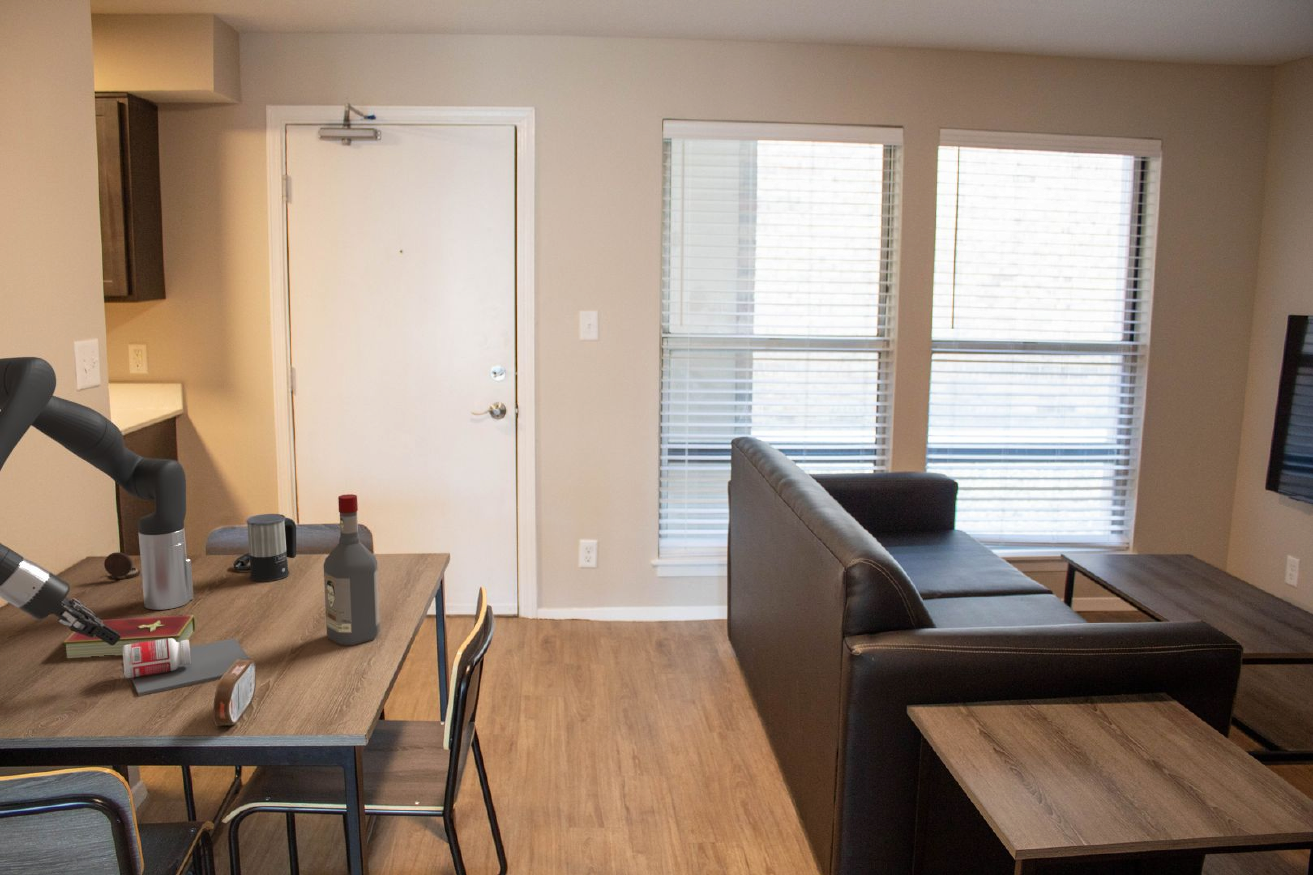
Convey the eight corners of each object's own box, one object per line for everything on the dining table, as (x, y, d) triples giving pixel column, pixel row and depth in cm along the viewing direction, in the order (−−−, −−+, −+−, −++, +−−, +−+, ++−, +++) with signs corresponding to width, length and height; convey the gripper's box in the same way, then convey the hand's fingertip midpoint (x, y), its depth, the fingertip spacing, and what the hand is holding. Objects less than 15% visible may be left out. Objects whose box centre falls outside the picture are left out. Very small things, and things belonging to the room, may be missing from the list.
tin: (242, 695, 177) (239, 651, 175) (260, 694, 177) (258, 650, 176) (212, 735, 162) (209, 687, 161) (232, 734, 162) (229, 686, 161)
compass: (143, 571, 245) (141, 543, 244) (131, 581, 238) (129, 552, 236) (109, 572, 244) (107, 544, 243) (96, 582, 236) (93, 553, 235)
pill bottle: (125, 672, 185) (190, 662, 190) (124, 683, 179) (191, 672, 184) (122, 640, 184) (188, 631, 189) (122, 650, 178) (189, 640, 184)
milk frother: (279, 583, 238) (276, 523, 235) (215, 581, 238) (211, 522, 236) (303, 565, 252) (300, 508, 249) (242, 563, 252) (238, 507, 250)
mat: (138, 695, 176) (138, 692, 176) (125, 661, 191) (125, 658, 190) (256, 671, 187) (255, 668, 187) (235, 640, 202) (235, 637, 202)
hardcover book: (86, 638, 203) (84, 619, 202) (195, 632, 207) (194, 613, 206) (64, 661, 192) (62, 640, 191) (180, 654, 196) (178, 634, 195)
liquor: (363, 625, 211) (357, 489, 206) (384, 637, 205) (379, 496, 199) (322, 636, 205) (315, 495, 199) (343, 648, 198) (337, 504, 193)
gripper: (50, 581, 167) (136, 635, 176) (45, 561, 178) (127, 613, 187) (16, 616, 165) (105, 669, 174) (13, 594, 176) (97, 645, 185)
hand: (116, 640), depth 181 cm, fingers closed
